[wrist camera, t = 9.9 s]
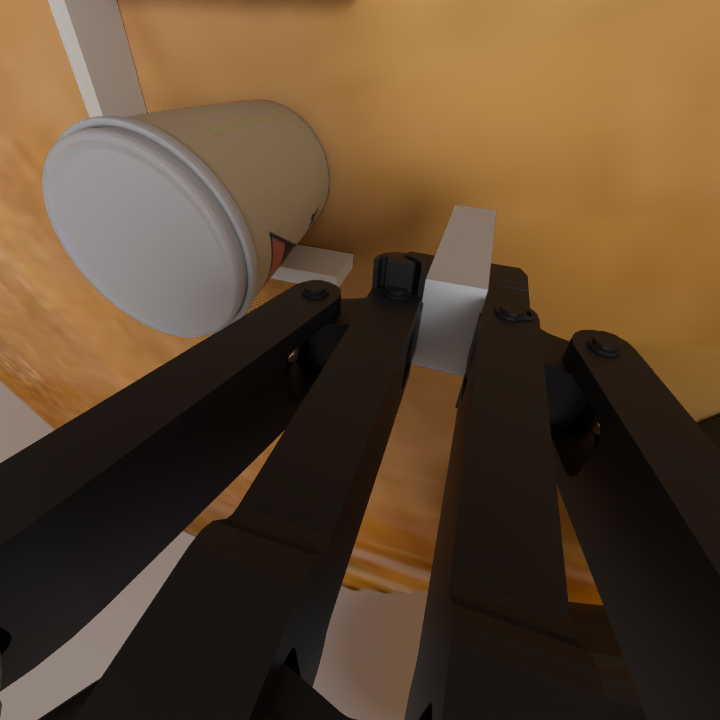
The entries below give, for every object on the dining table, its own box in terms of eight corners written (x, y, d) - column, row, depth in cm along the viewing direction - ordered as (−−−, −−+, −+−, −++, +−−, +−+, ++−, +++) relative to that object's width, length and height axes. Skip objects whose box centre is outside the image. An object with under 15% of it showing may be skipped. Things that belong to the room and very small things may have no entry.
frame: (352, 267, 27) (336, 291, 25) (169, 234, 30) (137, 253, 27) (362, -36, 17) (338, -48, 15) (89, -41, 20) (28, -53, 18)
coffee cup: (267, 261, 29) (161, 361, 20) (179, 137, 25) (0, 197, 16) (369, 207, 24) (287, 310, 15) (282, 41, 20) (102, 55, 11)
